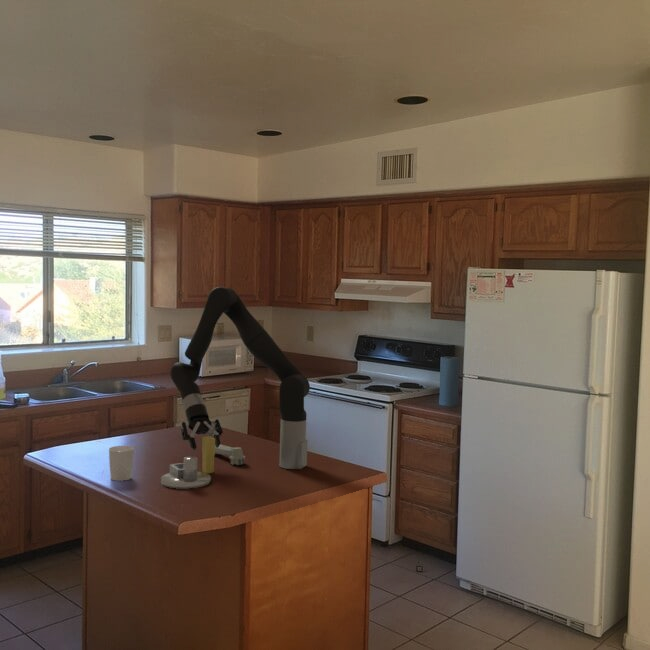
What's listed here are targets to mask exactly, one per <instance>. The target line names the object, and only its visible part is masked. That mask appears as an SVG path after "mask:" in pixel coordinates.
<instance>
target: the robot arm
mask: <svg viewBox="0 0 650 650" xmlns="http://www.w3.org/2000/svg"><path fill="white" fill-rule="evenodd" d="M243 302H244V301H242V299H241V298H240V296H239V295H238V294H237V291H235V290H234V289H233V288H230V287H226V286H217V287H214V288H213V289H211V290H210V292H209V294H208V296H207V299H206V301H205V305H204V308H203V311H202V314H201V317H200V320H199V322H198V325H197V327H196V330H195V332H194V333H193V335H192V337H191V338H190V339H191V340H190V341H189V343H188V345H187V346H186V349H185V352H184V356H185V357H186V358H187V359H188V360H190V361H189V363H184V362H181V361H179V362H175V363H174V364H173V365H171V368H170V378H171V380H172V382H173V384H174V385H175V387H176V388H177V390H178V391H179V393H180V397H181V400H182V403H183V410H184V413H185V417H186V420H187V423H186V422H185V421H182V423H181V425H180V433H181V436H182V440H183V441H188V443H189V445H190V446H189V447H190V448H191V449H192V451H196V449H197V443H196V439H195V437H194V436H195V434H196V435H199V436H200V435H207V436H211V437H213V438H215V446H216V448H218V447H219V445H220V444H221V440H220V437H221V436H222V435H223V433H224V430H223V429H222V426H221V423H220V421H219V419H217V418H216V419H215V420H214V421H211V420H210V417H209V412H208V409H207V406H206V403H205V400H204V398H203V396H202V393H201V390H200V387H199V385H198V384H197V383H196V381H197V380H198V379H199V376H200V372H201V368H202V365H203V359H204V357H205V355H206V353H207V352H208V349H209V348H210V345H211V343H212V339H213V335H214V330H215V327H216V325H217V323H218V320H219V319H220V318H221V316H222V315H223V314H224V315H226V316H227V318H228V319H230V320H231V322H232V323H233V325H234V326H235V327H236V329H237V332H238V334H239V337H240V339H241V341H242V343H243V344H244V345H245V347H246V348H247V350H248V351H249V352H250V353H251V354H252V356H253V357H254V358H255V359H256V360H257V361H258V362H260V363H261V364H263V365H264V366H266V368H268V369H269V370H271V372H273V373H274V374H275V376H277V378H278V379H279V380H280V384H279V390H278V391H279V392H278V397H279V398H278V399H279V400H278V402H279V403H278V405H279V406H278V408H279V409H278V410H279V413H280V432H279V433H280V435H279V436H280V437H279V460H278V461H279V463H278V464H279V467H280V468H283V469H284V470H285V469H286V470H287V469H288V470H303V469H304V468H306V466H307V465H308V439H306V438H307V411H306V410H305V397H306V396H308V394H309V392H310V389H311V388H310V387H311V386H310V382H309V380H308V378H307V377H306V376H305V375H304V374H303V373H302V372H301V371H300V370H299V369H298V368H297V367H296V366H295V365H294V364H293V363H292V361H290V360H289V359H288V356H286V355H285V352H283V350H282V349H281V348H280V347H279V346H278V344H277V343H276V342H275V341H274V339H273V338H272V337H271V335H270V334H269V333H268V332H267V330H266V329H265V328H264V327H263V326H262V325H261V324H260V322H259V321H258V320H257V319H256V318H255V316H254V315H252V314H251V312H250V311H249V310H248V309H247V307H246V305H245V304H244V303H243ZM188 429H190V430H191V432H190V434H188Z"/></svg>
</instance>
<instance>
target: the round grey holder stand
mask: <svg viewBox="0 0 650 650" xmlns="http://www.w3.org/2000/svg"><path fill="white" fill-rule="evenodd" d="M211 481H212V477H211V474H210V473H205V472H203V471H198V457H197V456H185V457H183V462H182V463H179V462H178V463H171V464H169V472H168V473H165V474H163V475H162V476H161V477H160V484H161V486H163V487H165V488H168V487H169V489H173V488H176V489H175V490H190V489H189V488H195V489H199V488H198V487H201V488H204V487H206V485H207V486H208V484H209V483H210V482H211ZM210 484H211V483H210ZM210 484H209V485H210ZM203 486H204V487H203Z"/></svg>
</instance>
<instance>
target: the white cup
mask: <svg viewBox="0 0 650 650" xmlns="http://www.w3.org/2000/svg"><path fill="white" fill-rule="evenodd" d="M108 455H109V456H108V459H109V472H110V475H109V476H110V480H111V479H112V480H111V481H114V480H115V482H124V480H125V481H130V480H131V479H132V478H133V477H132V476H133V468H134V455H135V447H133V446H130V445H115V446H111V447H109V449H108Z"/></svg>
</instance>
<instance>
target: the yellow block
mask: <svg viewBox="0 0 650 650" xmlns="http://www.w3.org/2000/svg"><path fill="white" fill-rule="evenodd" d="M201 454H202V456H201V459H202V460H201V463H202V466H201V467H202V468H201V469H202V470H201V472H204V473H207V474H213V472H214V473H215V471H214V469H215V455H216V454H215V438H213V437H212V436H209V435H204V436H202V437H201Z"/></svg>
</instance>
